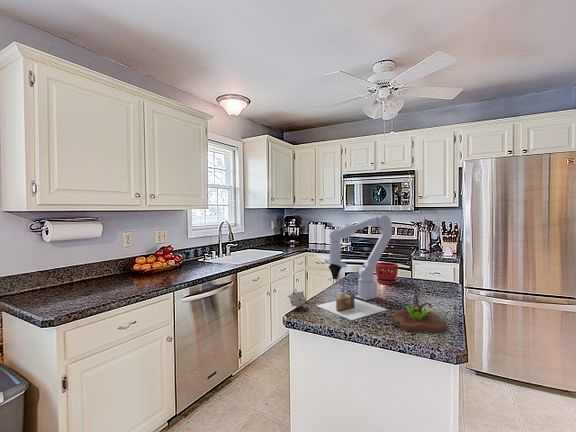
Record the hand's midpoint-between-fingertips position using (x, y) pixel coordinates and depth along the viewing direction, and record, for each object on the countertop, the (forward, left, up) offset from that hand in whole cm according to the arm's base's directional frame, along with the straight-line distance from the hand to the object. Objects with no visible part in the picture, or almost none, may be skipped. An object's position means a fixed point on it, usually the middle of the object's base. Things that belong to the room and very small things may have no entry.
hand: (335, 279), depth 163 cm
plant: (-3, +46, -10) cm, 47 cm away
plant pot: (-47, -4, -10) cm, 48 cm away
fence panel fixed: (+6, +14, -9) cm, 18 cm away
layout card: (+6, +18, -9) cm, 21 cm away
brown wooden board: (+11, +18, -9) cm, 23 cm away
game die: (+26, +2, -10) cm, 28 cm away
